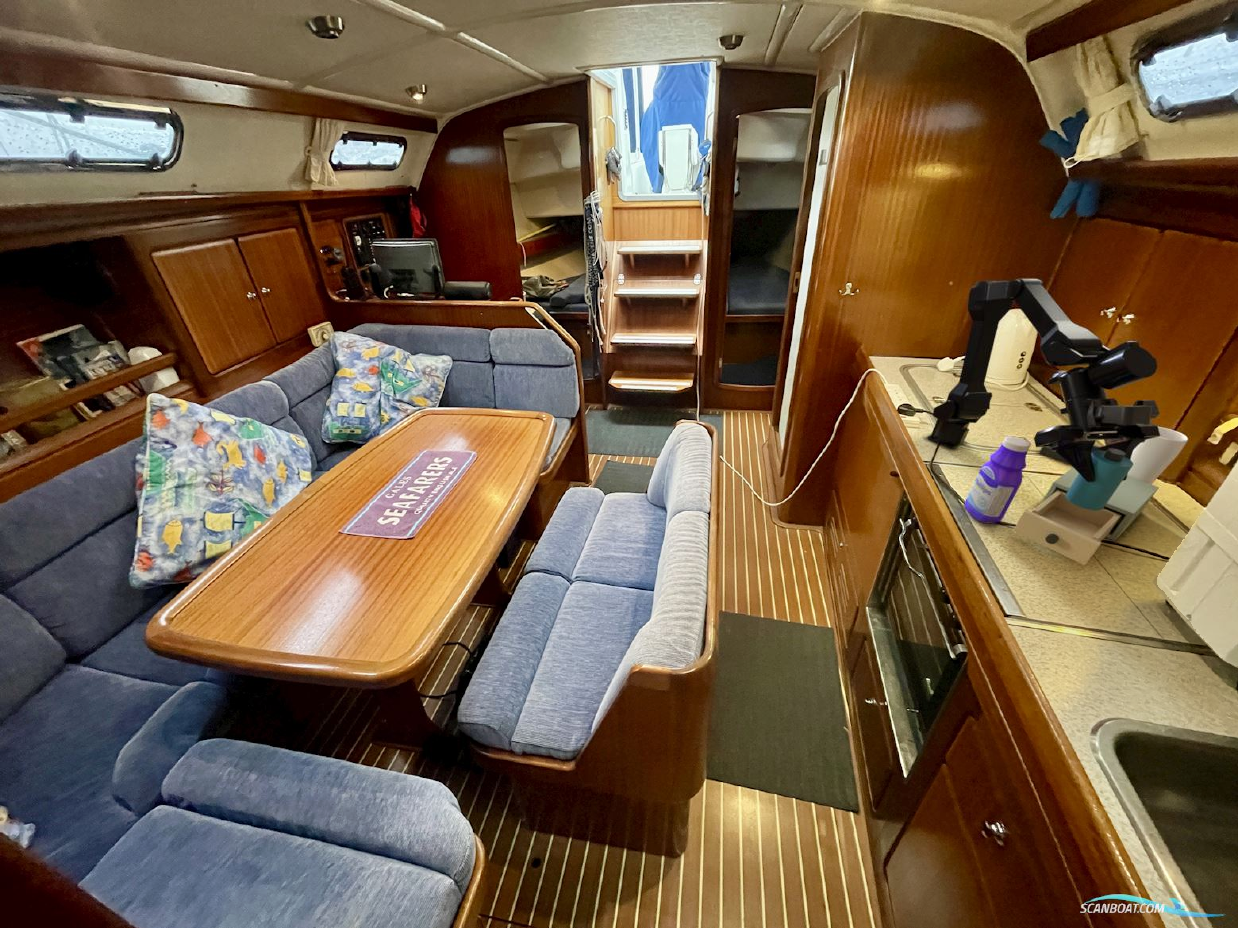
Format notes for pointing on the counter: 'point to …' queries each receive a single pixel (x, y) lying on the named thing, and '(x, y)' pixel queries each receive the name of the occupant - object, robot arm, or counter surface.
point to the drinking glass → (1156, 455)
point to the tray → (1055, 455)
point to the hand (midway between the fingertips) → (1106, 481)
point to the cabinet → (1115, 499)
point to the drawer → (1067, 527)
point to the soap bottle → (1100, 480)
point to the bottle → (998, 481)
